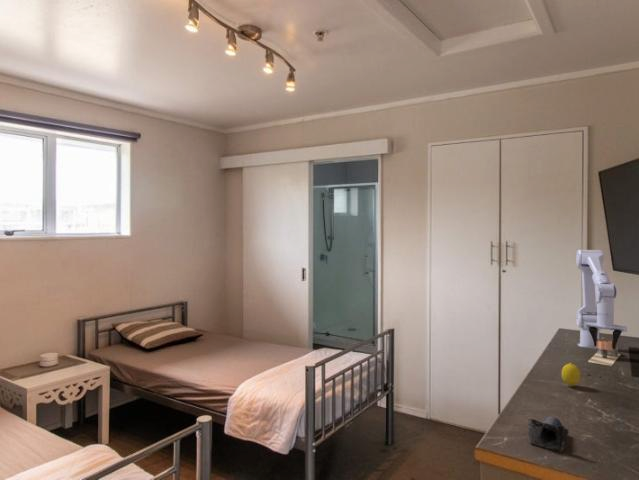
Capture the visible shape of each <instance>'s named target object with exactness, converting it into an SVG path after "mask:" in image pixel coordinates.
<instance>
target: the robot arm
mask: <svg viewBox="0 0 639 480" xmlns="http://www.w3.org/2000/svg"><path fill="white" fill-rule="evenodd" d="M575 259H576V260H575V261H576V262H575V263H576V268H577V269H578V270H580V272H581V282H582V283H581V284H582V287H581V288H582V302H583V303H582V304H583V305H582V307H580V308H579V309H577V310H576V315H575V316H576V317H575V318H576V319H575V321H576V325H577V327H578V328H580V332H579V343H577V347H581V348H587V349H589V348H590V349H595V350H598V348H597V347H596V340H597V339H600V331H601V330H607V331H608V330H609V331H612V341H613V349H615V348H616V347H617V343H618V341H619V338H620V336H621V335H622V333H627V332H628V326H625V325H618V324H615V323H614V319H615V318H614V317H615V316H614V315H615V309H614V308H615V306H614V305H615V299H616V297H617V294H618V293H617V291H618V290H617V286H616V284H615V283H613V282H612V281H611V279H610V278H609V274H608V273H607V272H606V271H604V268H603V263H604V260H605V253H604V251H603V250H602V249H578V250H577V251H576V255H575Z"/></svg>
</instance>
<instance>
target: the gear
mask: <svg viewBox="0 0 639 480" xmlns="http://www.w3.org/2000/svg"><path fill="white" fill-rule="evenodd" d="M596 347H597V348H599V349H604V350H613V340H610V339H605V338H601V339H600V338H599V339H597V340H596Z"/></svg>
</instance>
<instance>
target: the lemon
mask: <svg viewBox="0 0 639 480" xmlns="http://www.w3.org/2000/svg"><path fill="white" fill-rule="evenodd" d="M561 378H562V380H563V382H564V383H565V384H567V385H568V386H569V387H573V386H575V385H577V384H578V383H579V382H580V379H581V371H580V369H579V368H578V366H576V365H575V364H573V363H572V362H569V363H567V364H564V366H563V367H562V368H561Z"/></svg>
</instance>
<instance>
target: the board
mask: <svg viewBox="0 0 639 480" xmlns="http://www.w3.org/2000/svg"><path fill="white" fill-rule="evenodd" d="M620 356H621V353H619V348H618V346H616V348H615V349H613V350H604V349H599V348H598V349H597V351H596V352H595V353H594V355H593V356H591V358H589V360H588V361H587V362H588V363H593V364H598V365H599V364H600V365H603V366H604V365H605V366H611V367H612V366H613V365H614V363H615V362H616V361H617V360H618V359H619V357H620Z"/></svg>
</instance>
